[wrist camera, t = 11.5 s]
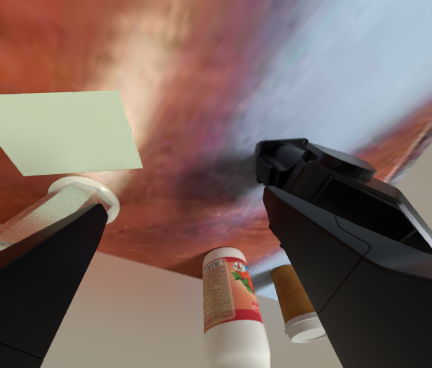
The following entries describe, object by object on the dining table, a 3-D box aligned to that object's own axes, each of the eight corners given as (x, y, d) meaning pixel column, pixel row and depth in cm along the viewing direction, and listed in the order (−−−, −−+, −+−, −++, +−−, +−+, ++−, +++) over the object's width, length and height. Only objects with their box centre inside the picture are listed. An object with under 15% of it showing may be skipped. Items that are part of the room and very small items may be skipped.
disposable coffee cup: (306, 271, 40) (343, 332, 30) (274, 285, 42) (298, 346, 32) (294, 255, 36) (332, 321, 25) (258, 271, 38) (280, 338, 28)
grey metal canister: (88, 176, 20) (-13, 252, 11) (122, 213, 24) (70, 294, 14) (43, 192, 21) (-90, 279, 11) (83, 226, 25) (8, 313, 15)
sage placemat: (119, 90, 16) (117, 90, 16) (142, 167, 21) (142, 168, 21) (-36, 96, 15) (-40, 96, 15) (25, 175, 20) (23, 176, 20)
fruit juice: (201, 247, 31) (206, 762, 7) (246, 243, 32) (388, 703, 8) (203, 273, 36) (212, 630, 12) (242, 268, 37) (324, 599, 13)
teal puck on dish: (106, 172, 21) (92, 185, 18) (128, 220, 26) (120, 235, 23) (36, 177, 20) (11, 190, 18) (71, 225, 25) (56, 241, 22)
